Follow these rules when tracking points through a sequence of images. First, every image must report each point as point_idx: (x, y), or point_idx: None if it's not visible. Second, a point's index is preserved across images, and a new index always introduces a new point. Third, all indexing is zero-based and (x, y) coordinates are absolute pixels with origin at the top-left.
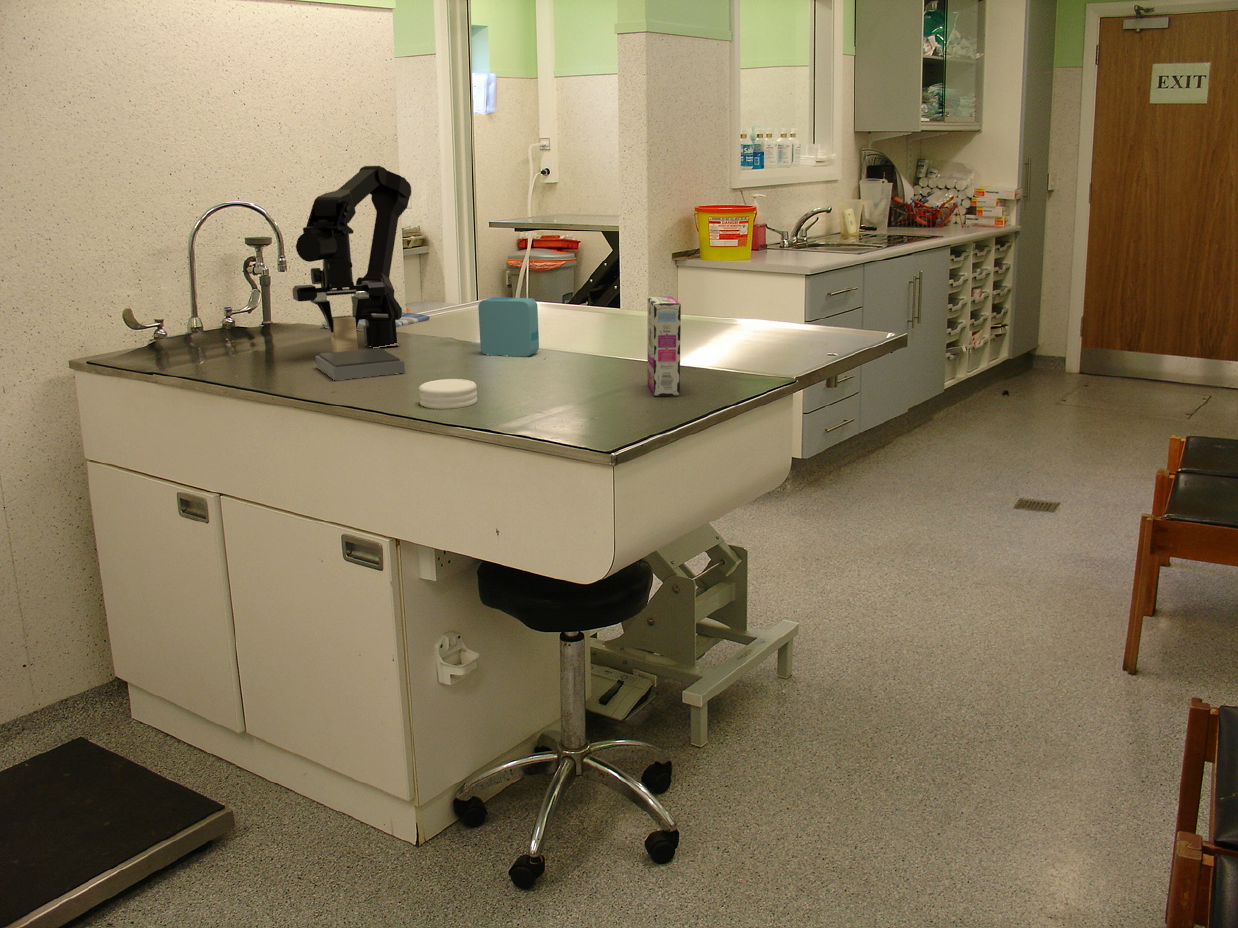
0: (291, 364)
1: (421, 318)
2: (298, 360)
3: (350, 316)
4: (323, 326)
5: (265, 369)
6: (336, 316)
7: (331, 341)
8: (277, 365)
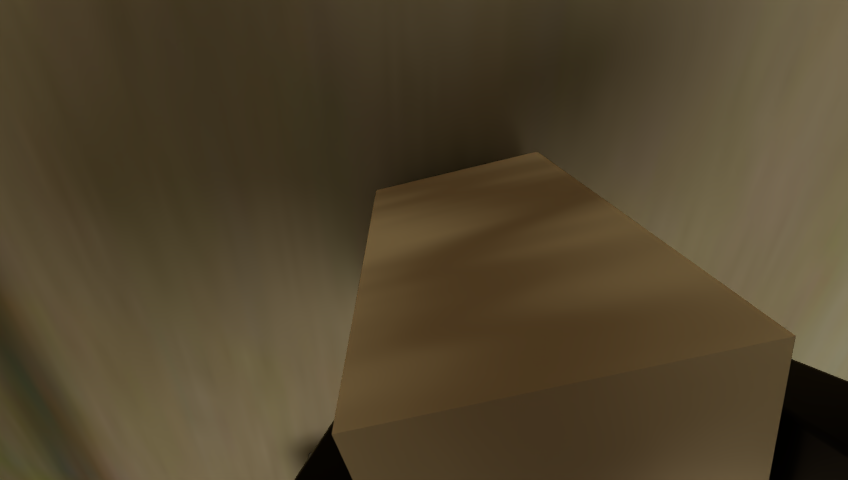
0: (131, 329)
1: None
2: (132, 203)
3: (741, 467)
4: None
5: (24, 423)
6: (487, 399)
7: (370, 229)
8: (46, 336)
